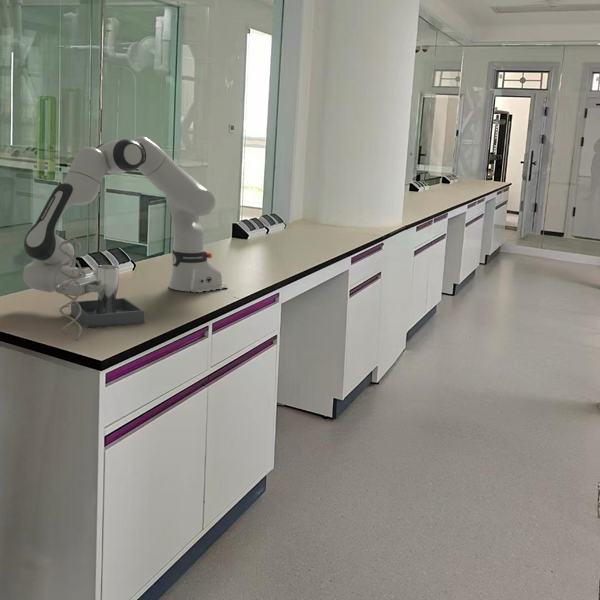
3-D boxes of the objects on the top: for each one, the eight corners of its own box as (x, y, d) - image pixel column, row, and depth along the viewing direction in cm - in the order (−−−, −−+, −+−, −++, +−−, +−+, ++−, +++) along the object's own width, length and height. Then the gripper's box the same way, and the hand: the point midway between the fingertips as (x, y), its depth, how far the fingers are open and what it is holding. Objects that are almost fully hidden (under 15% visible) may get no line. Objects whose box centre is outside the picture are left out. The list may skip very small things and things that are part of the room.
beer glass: (93, 310, 230) (95, 264, 227) (116, 311, 233) (118, 265, 230) (95, 316, 224) (97, 269, 221) (118, 316, 227) (120, 269, 223)
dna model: (54, 336, 207) (53, 232, 200) (75, 333, 212) (74, 231, 205) (65, 342, 203) (64, 235, 196) (86, 339, 207) (86, 234, 200)
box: (124, 309, 241) (124, 297, 240) (144, 323, 227) (144, 310, 226) (70, 314, 231) (70, 301, 230) (88, 328, 217) (88, 315, 216)
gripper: (50, 277, 220) (91, 283, 216) (89, 266, 239) (126, 271, 235) (51, 297, 221) (91, 303, 217) (89, 285, 240) (126, 290, 236)
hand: (109, 286), depth 226 cm, fingers closed on beer glass, 6 cm apart
